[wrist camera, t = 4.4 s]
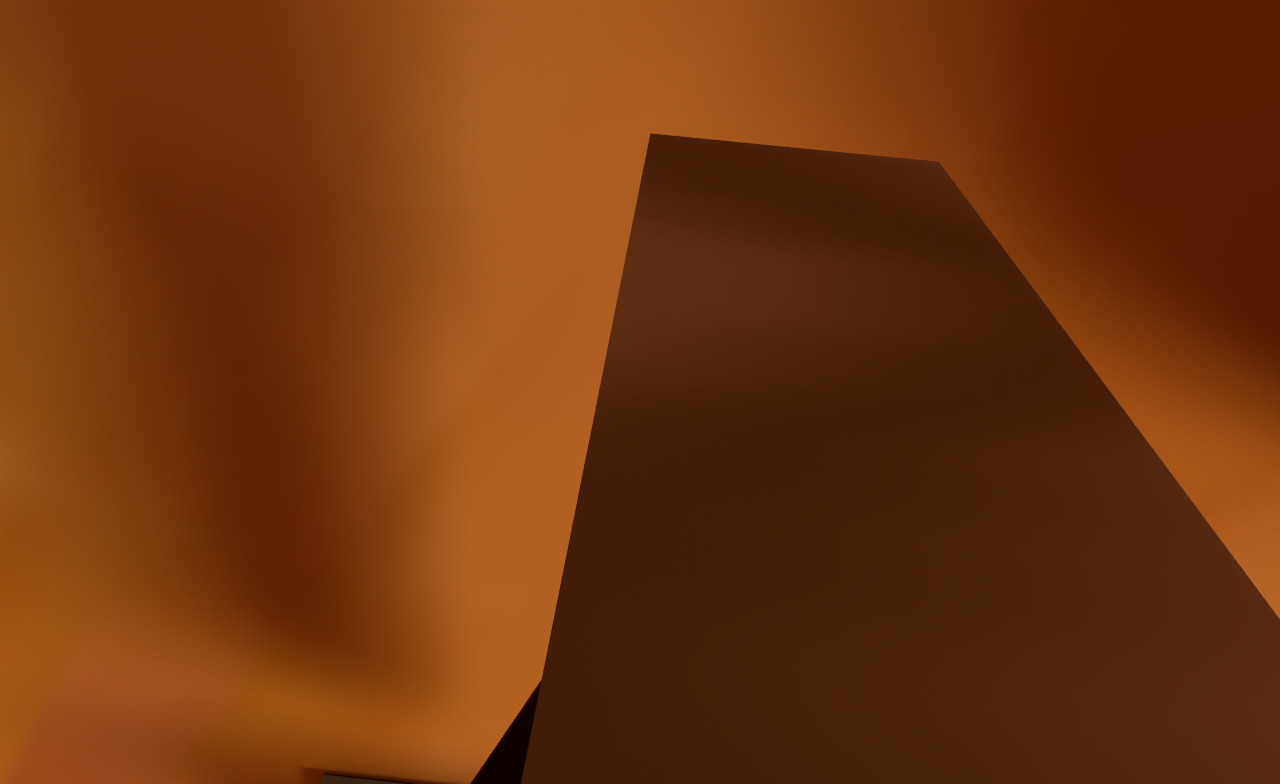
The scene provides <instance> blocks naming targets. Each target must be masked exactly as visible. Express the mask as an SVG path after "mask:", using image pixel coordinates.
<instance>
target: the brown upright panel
mask: <svg viewBox="0 0 1280 784" xmlns="http://www.w3.org/2000/svg"><path fill="white" fill-rule="evenodd" d="M521 784H1280V619H1279V618H1278V616H1277V615H1276V614H1275V612H1274V611H1273V610H1272V608H1271V607H1270V606H1269V604H1268V603H1267V602H1266V600H1265V599H1264V598H1263V596H1262V595H1261V594H1260V592H1259V591H1258V590H1257V588H1256V587H1255V585H1254V584H1253V583H1252V581H1251V580H1250V579H1249V577H1248V576H1247V575H1246V573H1245V572H1244V571H1243V569H1242V568H1241V567H1240V565H1239V564H1238V563H1237V561H1236V560H1235V559H1234V557H1233V556H1232V555H1231V553H1230V552H1229V551H1228V549H1227V548H1226V547H1225V545H1224V544H1223V543H1222V541H1221V540H1220V539H1219V537H1218V536H1217V535H1216V533H1215V532H1214V530H1213V529H1212V528H1211V526H1210V525H1209V524H1208V522H1207V521H1206V520H1205V518H1204V517H1203V516H1202V514H1201V513H1200V512H1199V510H1198V509H1197V508H1196V506H1195V505H1194V504H1193V502H1192V501H1191V500H1190V498H1189V497H1188V496H1187V494H1186V493H1185V492H1184V490H1183V489H1182V488H1181V486H1180V485H1179V484H1178V482H1177V481H1176V480H1175V478H1174V477H1173V475H1172V474H1171V473H1170V471H1169V470H1168V469H1167V467H1166V466H1165V465H1164V463H1163V462H1162V461H1161V459H1160V458H1159V457H1158V455H1157V454H1156V453H1155V451H1154V450H1153V449H1152V447H1151V446H1150V445H1149V443H1148V442H1147V441H1146V439H1145V438H1144V437H1143V435H1142V434H1141V433H1140V431H1139V430H1138V429H1137V427H1136V426H1135V425H1134V423H1133V422H1132V420H1131V419H1130V418H1129V416H1128V415H1127V414H1126V412H1125V411H1124V410H1123V408H1122V407H1121V406H1120V404H1119V403H1118V402H1117V400H1116V399H1115V398H1114V396H1113V395H1112V394H1111V392H1110V391H1109V390H1108V388H1107V387H1106V386H1105V384H1104V383H1103V382H1102V380H1101V379H1100V378H1099V376H1098V375H1097V374H1096V372H1095V371H1094V369H1093V368H1092V367H1091V365H1090V364H1089V363H1088V361H1087V360H1086V359H1085V357H1084V356H1083V355H1082V353H1081V352H1080V351H1079V349H1078V348H1077V347H1076V345H1075V344H1074V343H1073V341H1072V340H1071V339H1070V337H1069V336H1068V335H1067V333H1066V332H1065V331H1064V329H1063V328H1062V327H1061V325H1060V324H1059V323H1058V321H1057V320H1056V319H1055V317H1054V316H1053V314H1052V313H1051V312H1050V310H1049V309H1048V308H1047V306H1046V305H1045V304H1044V302H1043V301H1042V300H1041V298H1040V297H1039V296H1038V294H1037V293H1036V292H1035V290H1034V289H1033V288H1032V286H1031V285H1030V284H1029V282H1028V281H1027V280H1026V278H1025V277H1024V276H1023V274H1022V273H1021V272H1020V270H1019V269H1018V268H1017V266H1016V265H1015V264H1014V262H1013V261H1012V259H1011V258H1010V257H1009V255H1008V254H1007V253H1006V251H1005V250H1004V249H1003V247H1002V246H1001V245H1000V243H999V242H998V241H997V239H996V238H995V237H994V235H993V234H992V233H991V231H990V230H989V229H988V227H987V226H986V225H985V223H984V222H983V221H982V219H981V218H980V217H979V215H978V214H977V213H976V211H975V210H974V209H973V207H972V206H971V204H970V203H969V202H968V200H967V199H966V198H965V196H964V195H963V194H962V192H961V191H960V190H959V188H958V187H957V186H956V184H955V183H954V182H953V180H952V179H951V178H950V176H949V175H948V174H947V172H946V171H945V170H944V168H943V167H942V166H941V164H940V163H939V162H933V161H923V160H913V159H903V158H893V157H883V156H872V155H862V154H852V153H842V152H832V151H822V150H812V149H802V148H791V147H781V146H771V145H761V144H751V143H741V142H731V141H721V140H710V139H700V138H690V137H680V136H670V135H660V134H650V138H649V143H648V149H647V154H646V159H645V164H644V169H643V174H642V179H641V184H640V189H639V194H638V199H637V204H636V209H635V214H634V219H633V224H632V229H631V234H630V239H629V244H628V249H627V254H626V259H625V264H624V269H623V274H622V279H621V284H620V289H619V294H618V299H617V304H616V309H615V314H614V319H613V324H612V329H611V334H610V339H609V344H608V349H607V354H606V359H605V364H604V370H603V375H602V380H601V385H600V390H599V395H598V400H597V405H596V410H595V415H594V420H593V425H592V430H591V435H590V440H589V445H588V450H587V455H586V460H585V465H584V470H583V475H582V480H581V485H580V490H579V495H578V500H577V505H576V510H575V515H574V520H573V525H572V530H571V535H570V540H569V545H568V550H567V555H566V560H565V565H564V570H563V575H562V580H561V585H560V590H559V596H558V601H557V606H556V611H555V616H554V621H553V626H552V631H551V636H550V641H549V646H548V651H547V656H546V661H545V666H544V671H543V676H542V681H541V686H540V691H539V696H538V701H537V706H536V711H535V716H534V721H533V726H532V731H531V736H530V741H529V746H528V751H527V756H526V761H525V766H524V771H523V776H522V781H521Z"/></svg>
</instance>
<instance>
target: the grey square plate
mask: <svg viewBox="0 0 1280 784" xmlns="http://www.w3.org/2000/svg"><path fill="white" fill-rule="evenodd" d="M320 784H404V783H395V782H386V781H377V780H369V779H360V778H351V777H342V776H333V775H323V778H322V780H321V782H320Z"/></svg>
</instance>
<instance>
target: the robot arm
mask: <svg viewBox="0 0 1280 784" xmlns="http://www.w3.org/2000/svg"><path fill="white" fill-rule="evenodd" d="M541 681H542V680H541ZM541 681H540V683H539V684H538V685H537V687H536V688H535V690H534V691H533V693H532V694H531V696H530V697H529V699H528V700H527V702H526V703H525V704H524V706H523V707H522V709H521V710H520V712H519V713H518V715H517V716H516V718H515V719H514V721H513V722H512V724H511V725H510V726H509V728H508V729H507V731H506V732H505V734H504V735H503V737H502V738H501V740H500V741H499V743H498V744H497V746H496V747H495V748H494V750H493V751H492V753H491V754H490V756H489V757H488V759H487V760H486V762H485V763H484V765H483V766H482V767H481V769H480V770H479V772H478V773H477V775H476V776H475V778H474V779H473V781H472V782H471V784H521V781H522V776H523V771H524V766H525V761H526V756H527V751H528V746H529V741H530V736H531V731H532V726H533V721H534V716H535V711H536V706H537V701H538V696H539V691H540V686H541Z"/></svg>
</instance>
